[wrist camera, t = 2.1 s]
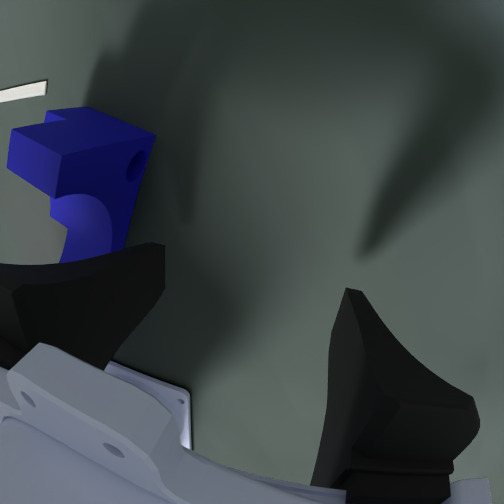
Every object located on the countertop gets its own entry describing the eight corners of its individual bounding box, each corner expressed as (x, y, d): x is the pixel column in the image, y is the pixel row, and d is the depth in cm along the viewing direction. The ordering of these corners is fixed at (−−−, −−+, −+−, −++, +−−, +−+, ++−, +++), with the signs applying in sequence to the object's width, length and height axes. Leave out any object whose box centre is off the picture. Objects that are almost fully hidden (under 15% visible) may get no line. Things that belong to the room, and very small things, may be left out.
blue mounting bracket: (89, 106, 14) (-7, 119, 8) (157, 134, 13) (61, 155, 8) (60, 285, 19) (-1, 332, 14) (110, 320, 19) (53, 379, 14)
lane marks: (65, 318, 20) (65, 318, 20) (-1, 284, 21) (-1, 284, 21) (47, 81, 13) (45, 81, 13) (-21, 97, 15) (-22, 97, 15)
